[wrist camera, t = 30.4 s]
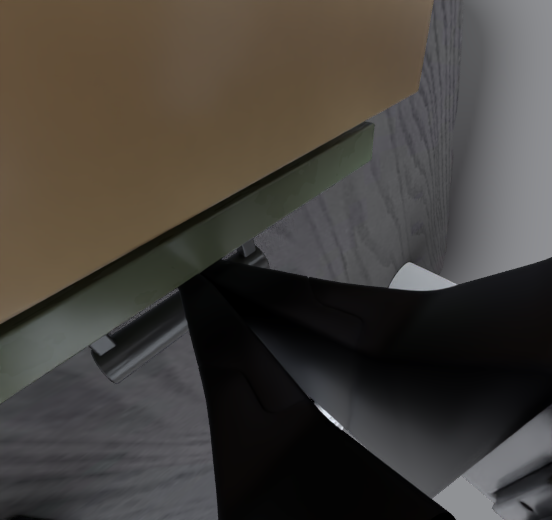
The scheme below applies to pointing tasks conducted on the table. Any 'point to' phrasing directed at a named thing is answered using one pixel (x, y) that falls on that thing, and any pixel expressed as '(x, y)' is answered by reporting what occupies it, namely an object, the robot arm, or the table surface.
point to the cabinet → (172, 114)
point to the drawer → (164, 274)
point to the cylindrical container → (418, 279)
